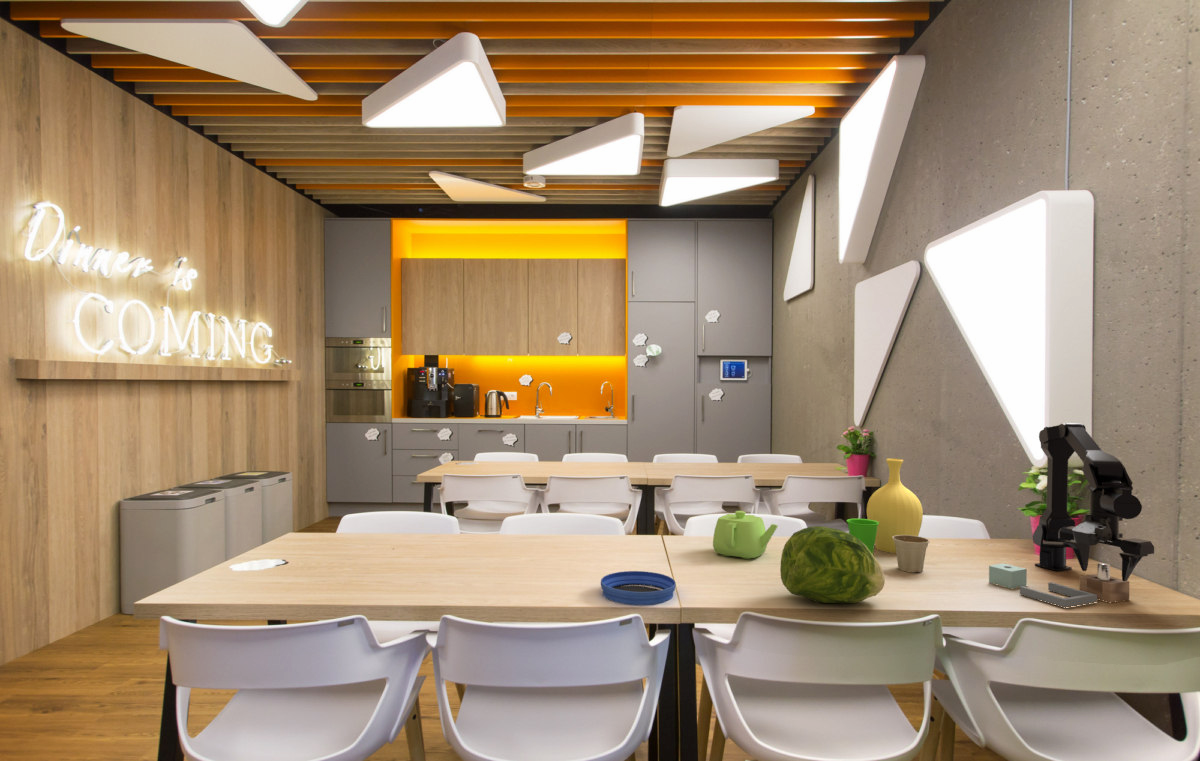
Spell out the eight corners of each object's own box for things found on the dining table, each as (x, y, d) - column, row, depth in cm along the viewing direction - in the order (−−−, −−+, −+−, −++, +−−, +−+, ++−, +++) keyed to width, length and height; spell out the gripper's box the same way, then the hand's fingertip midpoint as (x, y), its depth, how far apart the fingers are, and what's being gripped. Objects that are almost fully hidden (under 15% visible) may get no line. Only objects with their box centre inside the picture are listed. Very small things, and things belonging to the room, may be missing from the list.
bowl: (654, 612, 151) (654, 596, 151) (586, 598, 161) (586, 583, 161) (687, 592, 167) (687, 577, 167) (624, 580, 176) (624, 566, 176)
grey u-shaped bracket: (1051, 590, 169) (1051, 582, 169) (1097, 603, 159) (1097, 594, 159) (1019, 594, 165) (1019, 586, 165) (1065, 608, 155) (1065, 599, 155)
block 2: (1098, 591, 168) (1098, 573, 168) (1129, 600, 162) (1129, 581, 162) (1079, 594, 166) (1079, 576, 166) (1110, 603, 159) (1110, 584, 159)
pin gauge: (1101, 595, 165) (1101, 562, 165) (1112, 598, 163) (1112, 565, 163) (1095, 596, 164) (1095, 563, 164) (1105, 599, 162) (1105, 565, 162)
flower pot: (933, 575, 182) (933, 543, 182) (896, 573, 184) (896, 541, 184) (924, 566, 191) (924, 535, 191) (888, 564, 193) (888, 534, 193)
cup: (878, 556, 202) (878, 519, 202) (880, 564, 193) (880, 525, 193) (845, 554, 205) (846, 517, 205) (846, 561, 196) (846, 523, 196)
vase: (932, 556, 203) (932, 462, 203) (878, 555, 203) (878, 462, 203) (908, 543, 219) (909, 456, 219) (858, 543, 219) (859, 456, 219)
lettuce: (909, 581, 148) (885, 519, 163) (805, 562, 147) (791, 502, 162) (875, 631, 158) (855, 568, 173) (778, 614, 157) (767, 552, 172)
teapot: (787, 553, 205) (787, 510, 205) (765, 567, 188) (765, 521, 189) (729, 545, 215) (730, 504, 215) (704, 558, 198) (704, 513, 198)
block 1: (1003, 580, 178) (1003, 562, 178) (1026, 586, 173) (1026, 568, 173) (988, 583, 176) (989, 565, 176) (1011, 589, 170) (1011, 571, 170)
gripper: (1043, 506, 170) (1043, 569, 169) (1124, 520, 152) (1124, 590, 152) (1073, 504, 174) (1073, 565, 174) (1155, 517, 156) (1155, 585, 156)
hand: (1104, 575), depth 164 cm, fingers open, 9 cm apart
